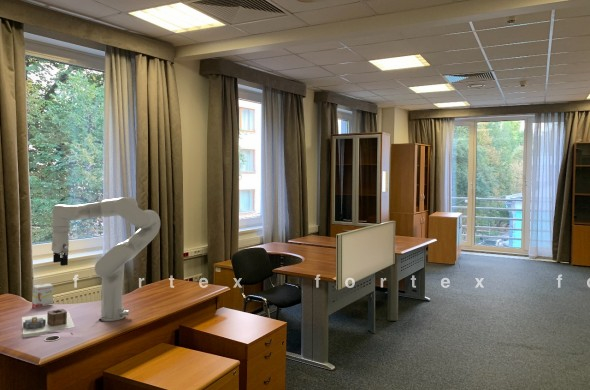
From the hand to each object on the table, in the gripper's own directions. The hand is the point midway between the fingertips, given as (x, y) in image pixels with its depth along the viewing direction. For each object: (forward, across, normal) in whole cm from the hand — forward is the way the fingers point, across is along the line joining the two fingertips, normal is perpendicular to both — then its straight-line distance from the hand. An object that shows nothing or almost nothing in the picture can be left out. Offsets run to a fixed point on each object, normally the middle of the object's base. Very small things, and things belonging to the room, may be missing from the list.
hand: (60, 263), depth 215 cm
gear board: (+26, +10, -8) cm, 30 cm away
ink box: (+27, -20, -1) cm, 34 cm away
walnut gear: (+25, +15, -6) cm, 30 cm away
